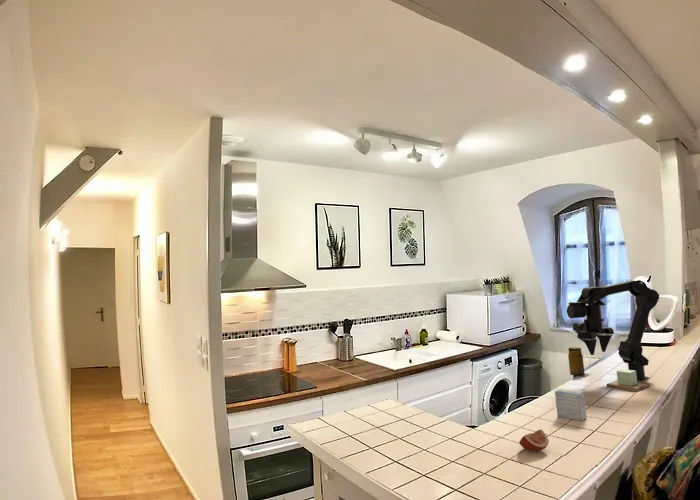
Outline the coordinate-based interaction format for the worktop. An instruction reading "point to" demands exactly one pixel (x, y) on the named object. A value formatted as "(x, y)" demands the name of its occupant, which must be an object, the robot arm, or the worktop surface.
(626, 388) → the walnut board
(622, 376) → the sage cube
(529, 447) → the fruit slice
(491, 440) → the worktop surface
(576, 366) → the condiment
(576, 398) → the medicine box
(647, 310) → the robot arm
